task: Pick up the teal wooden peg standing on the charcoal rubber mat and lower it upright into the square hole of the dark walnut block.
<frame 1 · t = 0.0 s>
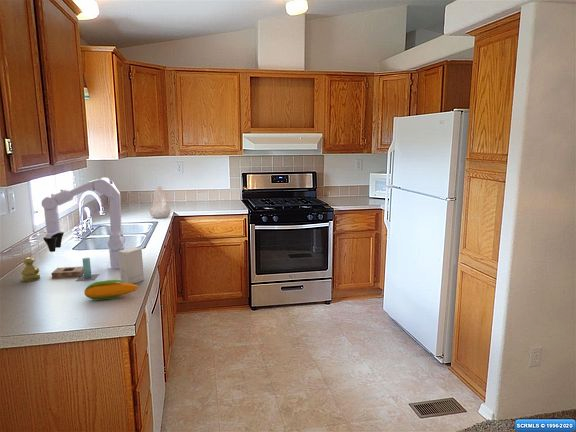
hand: (55, 249, 205), 10 cm above the countertop, tool pointing down, fingers open, 7 cm apart
mat: (87, 278, 194), on the countertop
corn: (112, 298, 171), on the countertop
hole block: (69, 275, 198), on the countertop
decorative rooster: (160, 218, 337), on the countertop
peg: (87, 277, 194), resting on mat
skincare box: (132, 282, 190), on the countertop
olive yellow figurine: (31, 279, 193), on the countertop
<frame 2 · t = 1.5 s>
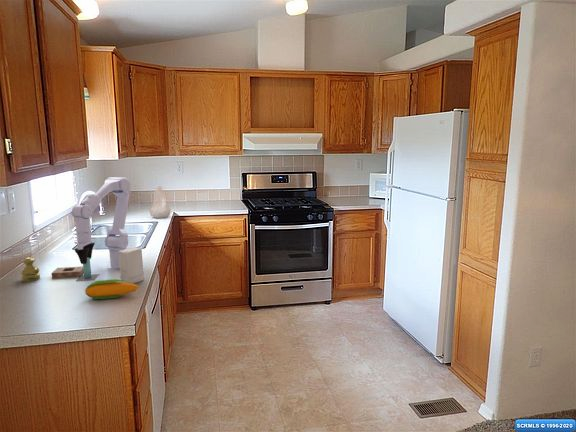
hand: (86, 261, 193), 8 cm above the countertop, tool pointing down, fingers open, 7 cm apart
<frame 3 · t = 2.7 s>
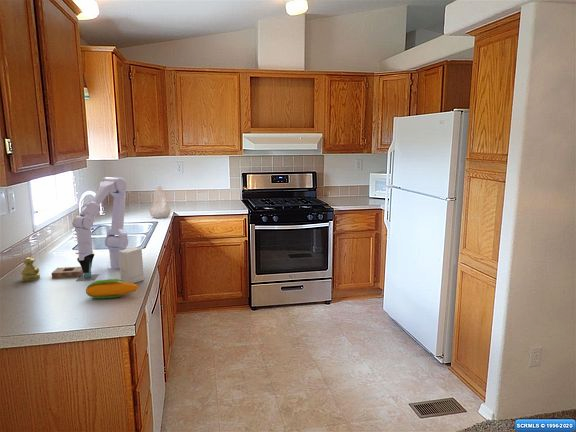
hand: (87, 271, 194), 3 cm above the countertop, tool pointing down, fingers closed on peg, 3 cm apart
peg: (87, 277, 194), resting on mat, touching gripper
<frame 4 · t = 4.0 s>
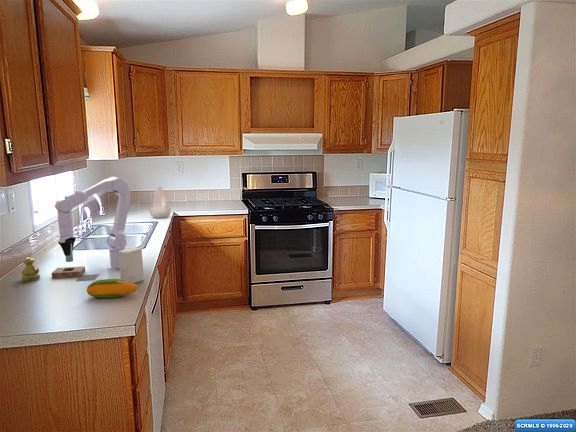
hand: (68, 254, 195), 10 cm above the countertop, tool pointing down, fingers closed on peg, 3 cm apart
peg: (69, 261, 196), point 7 cm above the countertop, touching gripper
when the fingers open (4 cm above the countertop, at t = 5.7 s): peg stays where it is, resting in hole block.
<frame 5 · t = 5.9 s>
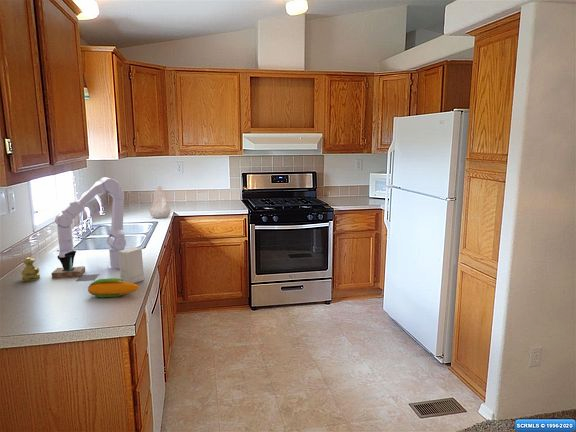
hand: (68, 268, 197), 4 cm above the countertop, tool pointing down, fingers open, 4 cm apart
peg: (69, 275, 198), resting in hole block
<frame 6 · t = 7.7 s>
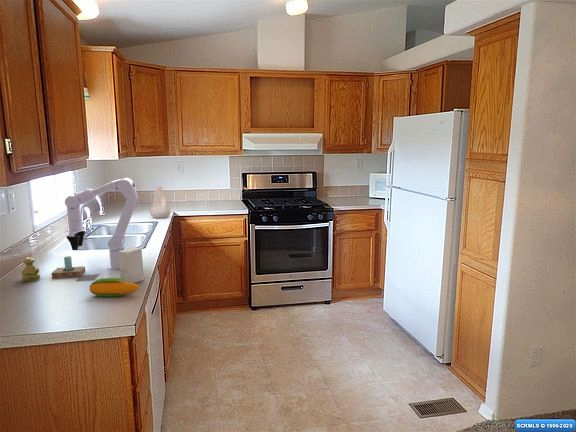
hand: (77, 247, 207), 10 cm above the countertop, tool pointing down, fingers open, 7 cm apart
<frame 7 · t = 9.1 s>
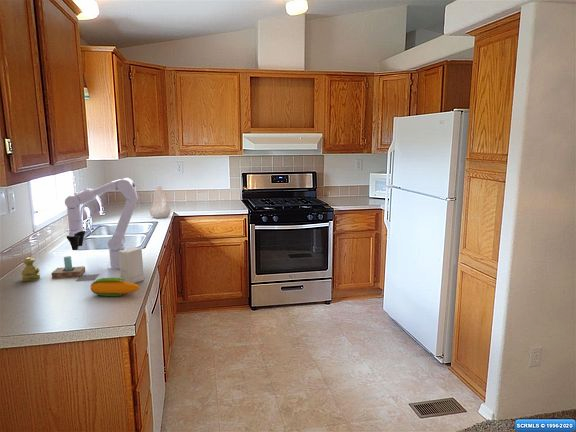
hand: (77, 247, 207), 10 cm above the countertop, tool pointing down, fingers open, 7 cm apart
at the end: peg 0.1 cm off-centre on the hole block, point 0.0 cm above the hole block's base; peg tilted 0°; the gripper is holding nothing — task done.
